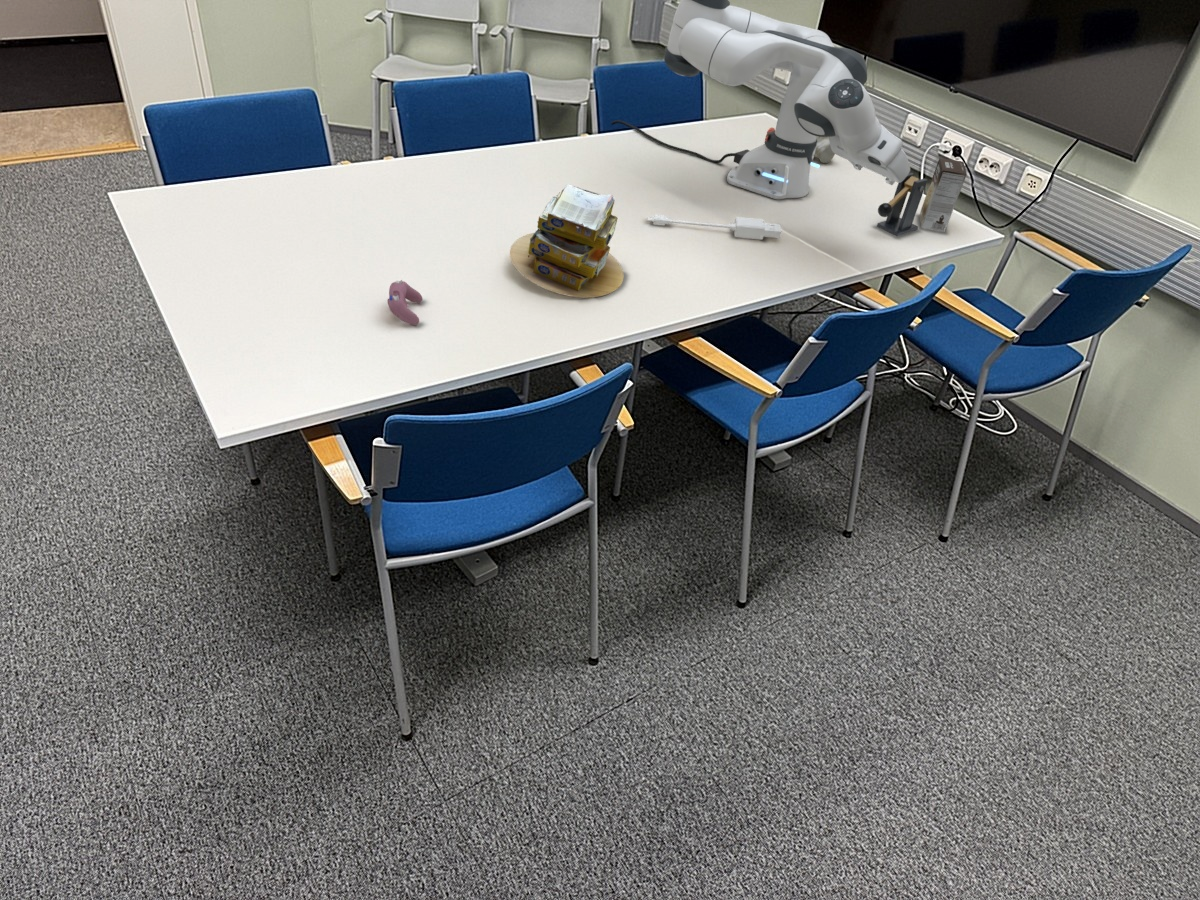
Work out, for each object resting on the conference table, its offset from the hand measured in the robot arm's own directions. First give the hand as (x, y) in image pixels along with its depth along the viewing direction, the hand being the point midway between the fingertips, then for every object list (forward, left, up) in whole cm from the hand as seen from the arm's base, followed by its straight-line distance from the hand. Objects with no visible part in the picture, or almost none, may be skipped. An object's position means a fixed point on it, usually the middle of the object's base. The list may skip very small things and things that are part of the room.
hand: (875, 174), depth 206 cm
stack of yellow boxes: (-55, -52, -18) cm, 78 cm away
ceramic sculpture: (-20, +54, -18) cm, 61 cm away
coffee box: (+17, +24, -18) cm, 35 cm away
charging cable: (-32, -14, -18) cm, 39 cm away
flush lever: (+7, +12, -10) cm, 17 cm away
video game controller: (-75, -85, -18) cm, 115 cm away
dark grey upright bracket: (+9, +16, -18) cm, 25 cm away
